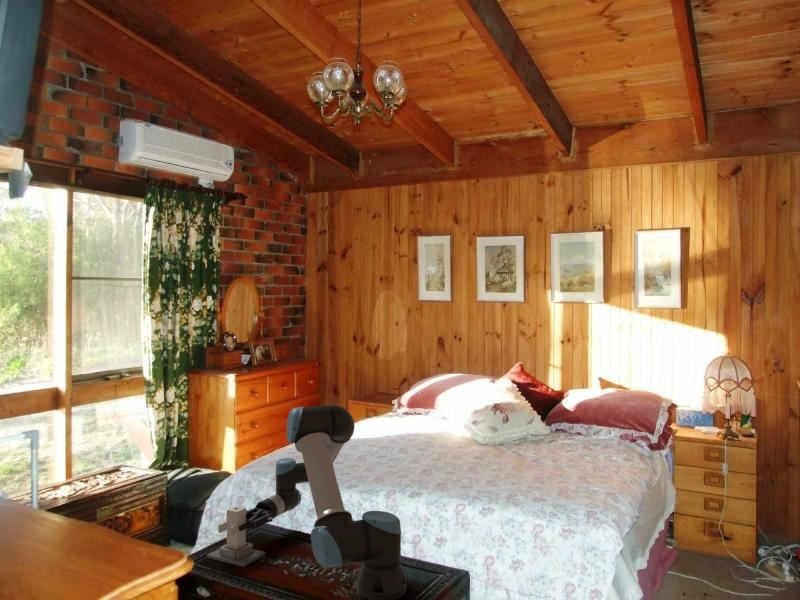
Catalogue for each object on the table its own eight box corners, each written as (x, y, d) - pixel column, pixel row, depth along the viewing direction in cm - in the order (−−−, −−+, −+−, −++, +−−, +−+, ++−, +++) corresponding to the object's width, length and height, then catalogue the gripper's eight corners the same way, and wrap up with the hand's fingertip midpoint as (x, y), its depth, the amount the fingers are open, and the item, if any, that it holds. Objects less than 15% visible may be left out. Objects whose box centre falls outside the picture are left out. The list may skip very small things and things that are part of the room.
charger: (245, 545, 219) (245, 507, 219) (236, 550, 215) (236, 511, 215) (235, 543, 222) (235, 505, 221) (226, 547, 218) (226, 509, 217)
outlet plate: (265, 554, 220) (265, 544, 220) (243, 567, 210) (243, 556, 210) (229, 546, 227) (229, 536, 227) (207, 557, 217) (207, 547, 217)
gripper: (288, 522, 230) (245, 546, 210) (250, 514, 238) (205, 536, 218) (288, 502, 230) (245, 523, 209) (250, 494, 238) (205, 514, 217)
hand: (225, 530), depth 214 cm, fingers closed on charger, 4 cm apart
